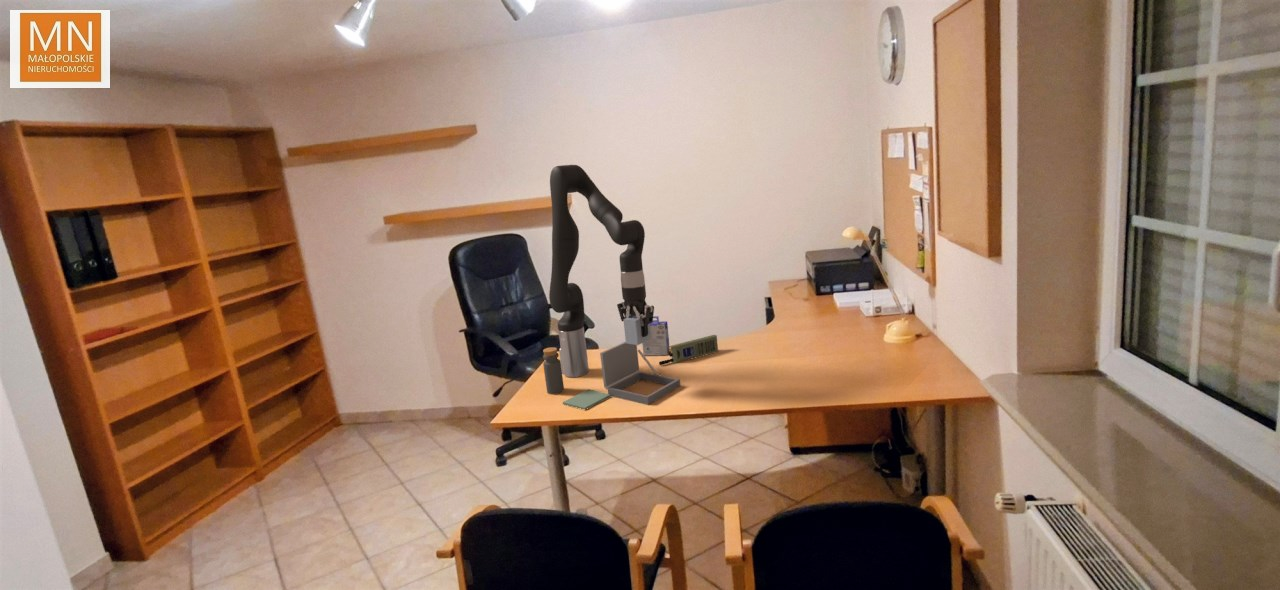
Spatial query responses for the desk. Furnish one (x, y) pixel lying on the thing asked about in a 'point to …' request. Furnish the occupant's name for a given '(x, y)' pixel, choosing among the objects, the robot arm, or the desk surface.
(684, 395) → the desk surface
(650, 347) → the ink cartridge box
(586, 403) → the mat
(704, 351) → the handheld radio
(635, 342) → the block
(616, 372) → the case
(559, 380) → the bottle
